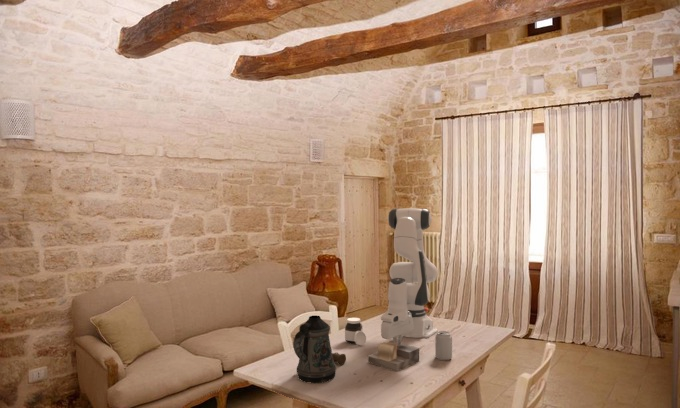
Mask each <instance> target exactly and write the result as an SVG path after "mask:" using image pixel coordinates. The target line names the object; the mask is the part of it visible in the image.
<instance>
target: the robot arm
mask: <svg viewBox="0 0 680 408" xmlns="http://www.w3.org/2000/svg"><path fill="white" fill-rule="evenodd" d="M432 220H433V219H432V214H431V211H430V210H429V209H426V208H417V207H416V208H415V207H409V208H406V207H405V208H394V209H393V208H392V209H391V210H390V211H389V213H388V216H387V222H388V225H389V227H390V228H391V229H393V230H394V236H393V249H394V251H395V252H396V254H397V255H398V256H399V257H402V258H403V259H406V260H408V261H398V262H394V263H392V264H391V266H389V267H390V268H389V273H388V274H389V276H390V278H391V279H390V280H389V283H388V290H387V291H388V292H387V300H388V305H387V310H386V311H385V312H384V313H383V314H382V315H381V316H380V320H381V321H382V322H381V324H380V335H381V338H382V339H384V340H391V339H393V341H394V344H397V345H400V344H402V340H403V338H404V337H406V338H414V339H415V338H416V339H417V338H419V339H421V338H424V339H425V338H427V339H428V338H430V337H431V336H433V335H434V334H435V333H436V334H437V332H438V331H439V330H438V328H436V327H434V321H433V319H431V318H430V317H429V316H428V315H427V313H428V312H429V308H428V307H424V306H425V305H426V304H427V303H429V301H430V298H431V293H430V289H429V285H428V284H430V283H434V282H435V281H436V280H437V278H438V276H439V275H438V274H439V271H438V268H437V266H436V265H435V264H434V263H432V262H431V260H429V259H428V257H427V255H426V252H425V247H424V246H425V245H424V230H427V229H429V227H430V226H431V224H432Z"/></svg>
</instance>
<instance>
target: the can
mask: <svg viewBox="0 0 680 408" xmlns="http://www.w3.org/2000/svg"><path fill="white" fill-rule="evenodd" d="M434 339H435V347H434V348H435V350H434V351H435V357H436V358H437V359H438V360H440V361H449V360H451V359H452V358H453V336H452V333H451V332H449V331H448V330H447V331H446V330H438V331H437V332H436V334H435V337H434Z"/></svg>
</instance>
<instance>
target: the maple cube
mask: <svg viewBox="0 0 680 408" xmlns="http://www.w3.org/2000/svg"><path fill="white" fill-rule="evenodd" d="M377 352H378V358H379V359H382V360H386V361H391V360H393V359H396V358H397V344H393V343H389V341H384V342H381V343H380V344H378V345H377Z"/></svg>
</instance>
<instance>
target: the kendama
mask: <svg viewBox="0 0 680 408" xmlns="http://www.w3.org/2000/svg"><path fill="white" fill-rule="evenodd" d="M331 351H332V348H331ZM332 356H333V360H334V363H337V364H338V365H339V366H343V365H344V364H345V363H346V362H347V361H346V360H347V356H346V354H345V353H339V352H333V351H332Z"/></svg>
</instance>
